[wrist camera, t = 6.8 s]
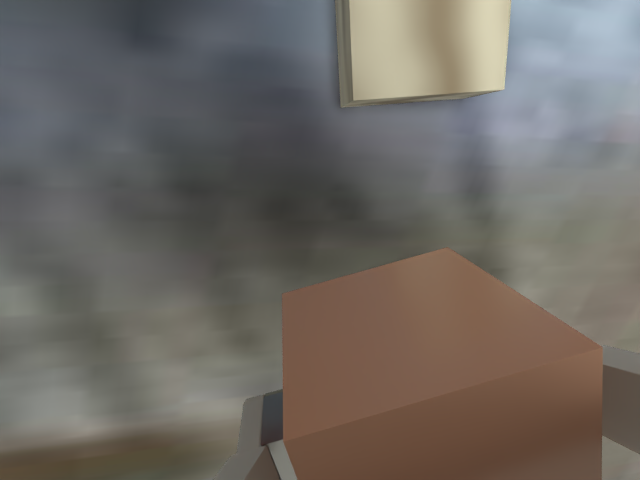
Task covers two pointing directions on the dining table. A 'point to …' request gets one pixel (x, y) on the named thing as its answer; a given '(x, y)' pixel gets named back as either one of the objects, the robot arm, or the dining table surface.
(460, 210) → the dining table surface
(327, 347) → the terracotta cube
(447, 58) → the birch block
